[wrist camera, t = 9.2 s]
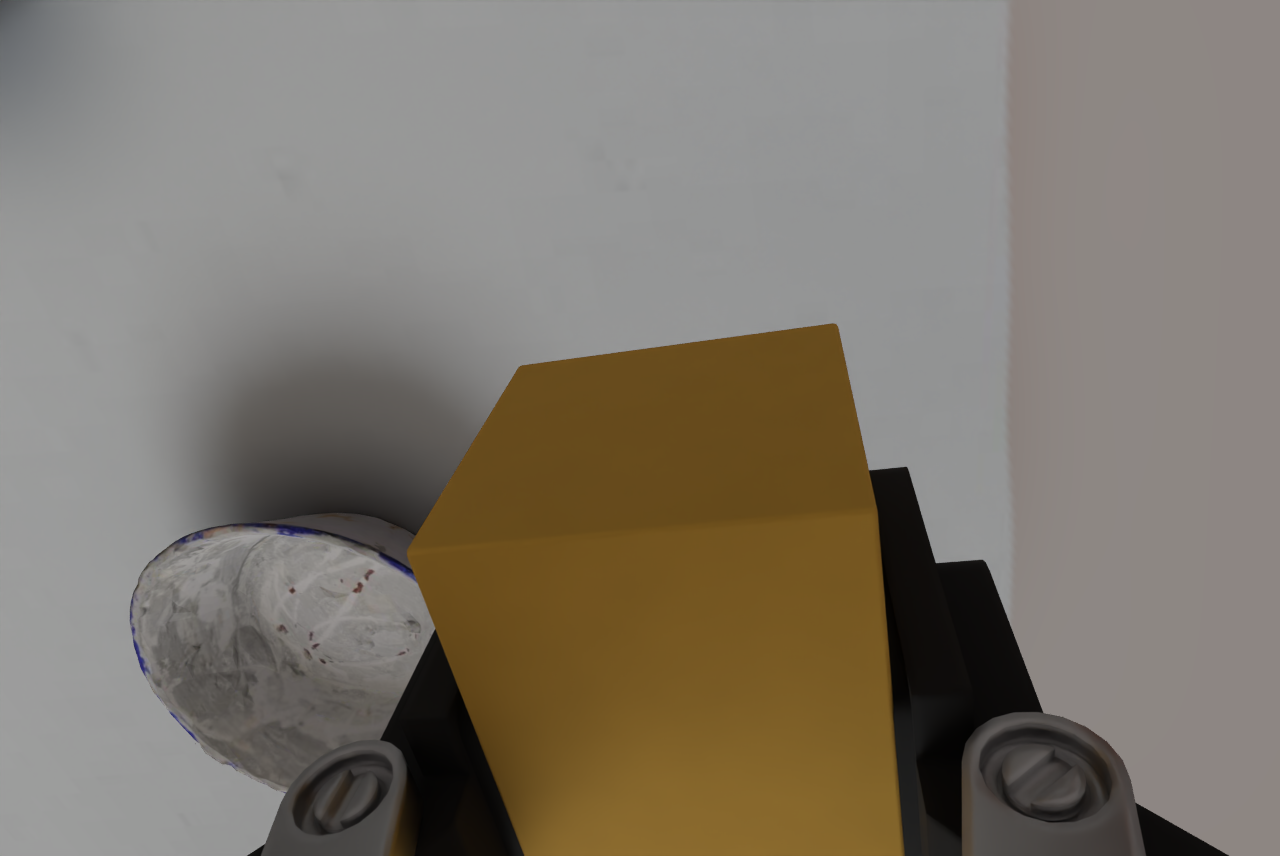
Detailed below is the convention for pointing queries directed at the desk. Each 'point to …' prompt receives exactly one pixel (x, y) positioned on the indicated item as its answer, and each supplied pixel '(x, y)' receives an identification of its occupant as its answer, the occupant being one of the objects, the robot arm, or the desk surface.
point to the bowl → (281, 637)
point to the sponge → (674, 604)
